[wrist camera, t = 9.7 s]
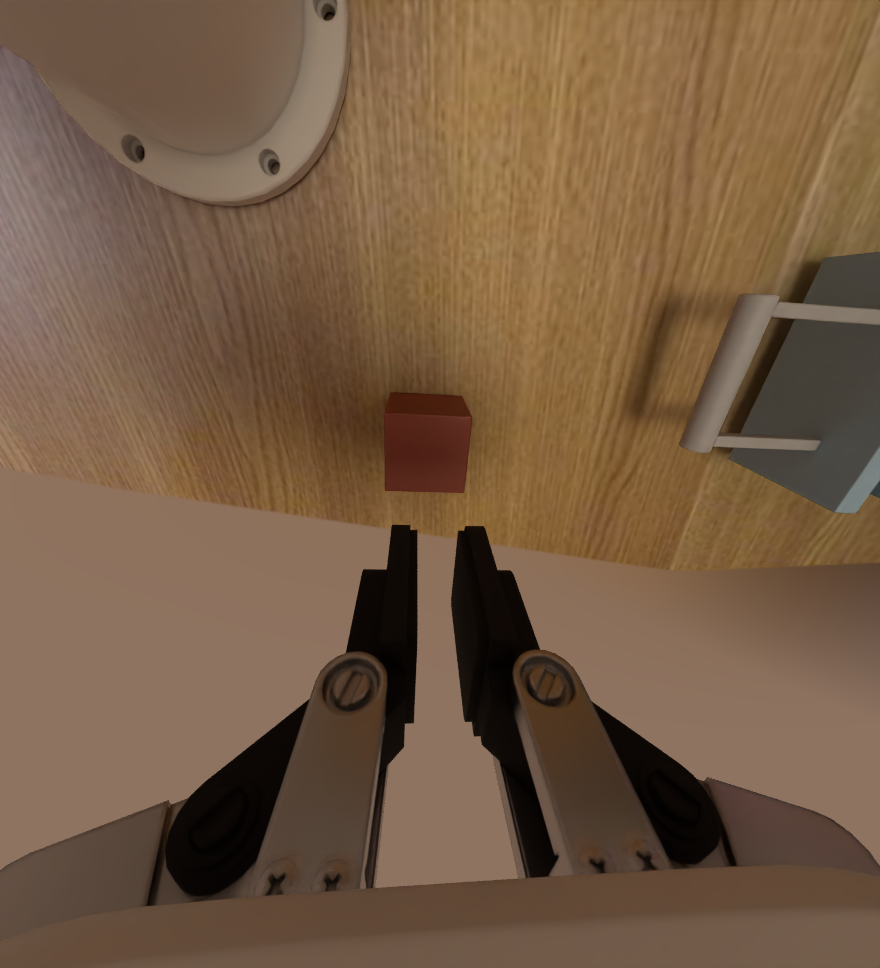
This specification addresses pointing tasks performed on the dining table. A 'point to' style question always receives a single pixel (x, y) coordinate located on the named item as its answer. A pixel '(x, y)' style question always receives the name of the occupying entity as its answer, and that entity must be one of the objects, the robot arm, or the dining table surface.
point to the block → (426, 443)
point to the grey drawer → (805, 388)
